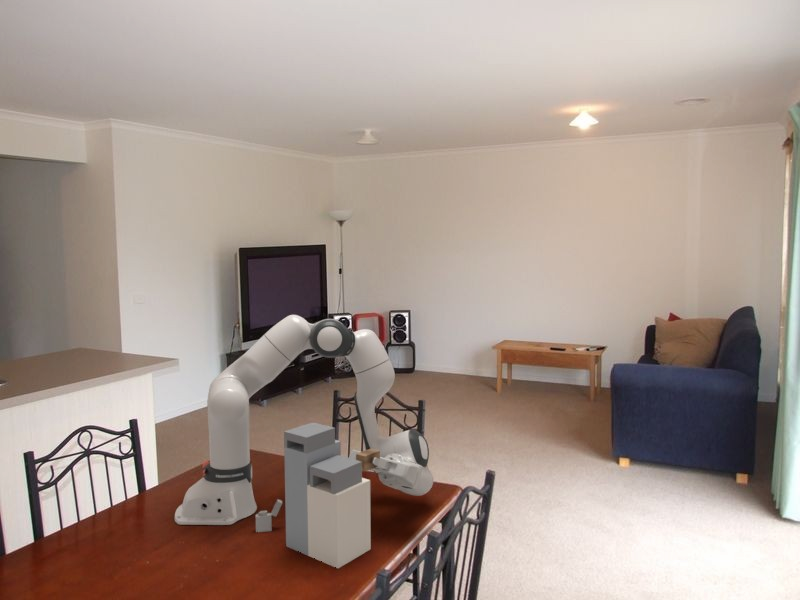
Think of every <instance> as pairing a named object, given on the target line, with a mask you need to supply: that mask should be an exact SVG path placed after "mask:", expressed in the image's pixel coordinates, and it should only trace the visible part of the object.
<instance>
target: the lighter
mask: <svg viewBox="0 0 800 600" xmlns="http://www.w3.org/2000/svg"><path fill="white" fill-rule="evenodd" d="M282 505H283V500H282V499H278V498H277V499H276V502H275V503H274V505H273V508H272V510H271V512H268V510H260V511H259V512H258V513H256V514H255V533H256V534H257V532H258V533H265V532H272V530H273V528H272V527H273V525H272V519H273V518H272V517H277V515H278V514H279V511H280V510H281V507H282Z"/></svg>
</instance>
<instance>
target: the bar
mask: <svg viewBox="0 0 800 600" xmlns="http://www.w3.org/2000/svg"><path fill="white" fill-rule="evenodd" d="M371 457H376V458H378V459H380V451H379V450H375V449H368V450H366V449H365V450H362V451H361V452H360V453H357V454H356V460H358V461H361V462H362V472H363V473H364V472H367V471H371V470H370V469H373V468H375V467H378V466H376V465H373V464H371V463H370V460H371ZM328 481H329V482H331V481H330V480H328Z"/></svg>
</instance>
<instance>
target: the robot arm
mask: <svg viewBox="0 0 800 600" xmlns="http://www.w3.org/2000/svg"><path fill="white" fill-rule="evenodd" d="M306 350H313V351H314V352H315V353H316V354H318V355H319V357H323V358H329V359H335V358H339V357H341V358H342V357H345V358H346V360H347V361H348V362H349V364H350V366H351V368H352V370H353V374H354V375H355V378H356V382H357V383H356V384H357V387H356V388H357V389H356V391H355V392H354V396H353V397H354V398H353V400H354V406H355V410H356V415H357V419H358V423H359V426H360V430H361V435H362V438H363V443H364V448H365V451H366V450H368V449H375V450H379V451H380V459H378V458H376V457H371V460H370V463H371V464H373V465H376V466H378V467H375V468H373V469H370V470H369V471H372V472H375V473H377V474H378V475H377V476H378V479H379V480H380V482H381V483H382V484H383V485H384V486H386V487H389V488H392V489H394V490H399V491H400V492H402V493H404V494H407V495H411V496H417V497H418V496H419V497H420V496H423V495H425V494H427V493H428V492H429V491H430V490H431V488H432V487H433V484H434V475H433V472H431V470H430V468H429V466H428V463H429V457H430V449H429V448H430V447H429V444H428V442H427V439H426V438H425V436H423V435H422V434H421V433H420V432H419V431H418V430H416V429H413V428H411V429H408V430H405V431H401V432H398V433H396V434H392V435H390V436H386V437H383V436H382V435H381V432H380V429H379V426H378V421H377V417H376V413H375V410H376V409H375V408H376V405H377V403H378V402H379V401H380V400H381V399H382V398H383V397H384V396H385V395H386V394H387V393H388V392H389V391H390V390H391V388H392V387H393V385H394V383H395V378H396V377H395V376H396V374H395V369H394V367H393V364H392V362H391V359H390V356H389V355H388V353H387V350H386V348H385V346H384V344H383V343H382V341H381V339H379V337H378V335H377V334H376V332H374V331H373V330H371V329H369V328H363V329H359V330H356V331H352V330H350V329H349V328H348V327H347V326H345V324H343V323H342V322H341V321H339V320H338V319H335V318H325V319H322V320H319V321H316V322H313V323H310V322H308V321H307V319H305V318H304V317H302V316H300V315H298V314H290V315H287V316H286V317H284V318H282V320H280V321H279V322H277V323H276V324H274V325H273V326H272V327H271V328H270V329H269V330H267V331H266V332H265V333H264V334H263V335H262V336H261V337H260V338H259V339H258V340H257V341H256V342H254V344H253V345H252V346H250V348H249V349H248V350H247V351H245V353H244V354H242V355H241V356H239V357H238V358H237V359H236V360H235V361H233V363H231V364H230V365H228V367H226V368H225V369H224V370H223V371H222V372H221V373H220V374H218V375H217V376H216V377H215V378H214V379H213V380H212V382H211V383H210V384H209V389H208V392H207V393H208V395H207V402H206V404H207V424H208V439H209V440H208V441H209V447H208V448H209V461H208V460H205V461H204V462H203V464H202V477H201V478H200V479H199V480H197V482H195V483H194V484H193V485H192V486H190V487H189V488H188V489H187V490H186V492H185V494H184V498H183V501H182V503H181V504H180V505H179V506H178V507H177V508H176V510H175V513H174V522H175V523H176V524H177V525H183V526H185V525H188V526H189V525H191V526H194V525H195V526H196V525H197V526H198V525H200V526H201V525H208V526H212V525H213V526H225V525H226V526H230V525H233V524H235V523H237V522H238V521H240V520H242V519H246V518H247V517H249V516H251V515H253V514H255V513H256V511H257V509H258V506H257V503H256V500H255V497H254V492H253V491H254V490H253V485H252V480H253V465H252V460H251V456H250V455H251V454H250V453H251V451H250V450H251V449H250V399H251V397H252V396H253V395H255V394H256V393H257V392H258V391H259V390H261V389H262V388H264V387H265V386H266V385H268V384H270V383H271V382H273V381H274V380H275V379H276V378H277V377H278V376H279V375H280V374H281V373H282V372H283V371H284V370H285V369H286V368H287V367H288V366H289V365H290V364H292V362H293V361H294V360H295V359H296V358H298V356H299V355H300V354H301V353H303V352H304V351H306ZM360 452H362V451H361V450H357V449H351V450H350V453H349V456H348V458H351V459H354V460H356V454H357V453H360Z"/></svg>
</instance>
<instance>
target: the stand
mask: <svg viewBox="0 0 800 600" xmlns="http://www.w3.org/2000/svg"><path fill="white" fill-rule="evenodd" d="M341 442H342V441H341V440H338V439H336V427H333V426H330V425H329V426H328V425H324V424H321V423H317V422H309V423H307V424H302V425H300V426H297V427H294V428H291V429H290V428H289V429H288V430H285V431H284V430H283V443H284V444H283V445H284V446H283V448H284V451H283V452H284V453H283V454H284V493H285V494H284V496H285V497H284V499H285V500H284V501H285V503H284V504H285V506H284V507H285V544H286V545H285V546H286V548H289V549H291V550H294V551H295V552H298V551H299V552H298V553H300V552H301V554H303V555H306V556H307V557H310V558H312V559H314V558H315V559H314V560H317V561H319V562H321V561H322V562H321V563H323V564H327V565H328V566H331V567H333V568H335V567H336V569H340V568H342V567H343V566H345V565H346V564H348V563H350V562H352V561H353V560H355V559H357V558H358V557H360V556H362V555H363V554H366V552H368V551H370V550H371V549H372V548H371V547H372V546H371V544H372V543H371V541H372V539H371V537H372V536H371V535H372V534H371V533H372V532H371V522H372V521H371V520H372V519H371V518H372V517H371V479H367V478H365V477H363V471H362V462H361V461H358V460H354V459H351V458H349V457H348V456H347V457H346V456H343V455H342V452H341V451H342V449H341V448H342V447H341V446H342V445H341V444H342V443H341ZM328 480H330V481H331V482H329V481H328Z"/></svg>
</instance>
